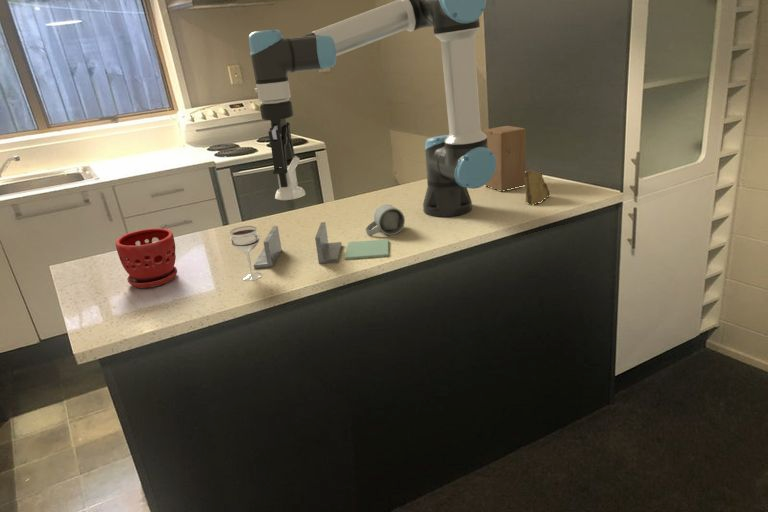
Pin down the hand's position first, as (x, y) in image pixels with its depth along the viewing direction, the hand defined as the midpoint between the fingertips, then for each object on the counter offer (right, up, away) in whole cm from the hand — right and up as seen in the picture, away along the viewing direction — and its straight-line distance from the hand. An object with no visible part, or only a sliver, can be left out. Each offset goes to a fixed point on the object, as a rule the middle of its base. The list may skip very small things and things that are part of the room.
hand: (290, 194), depth 135 cm
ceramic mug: (+24, -9, +19) cm, 32 cm away
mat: (+19, -14, +6) cm, 25 cm away
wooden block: (+66, +8, +52) cm, 84 cm away
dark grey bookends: (+1, -16, +6) cm, 17 cm away
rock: (+73, +2, +34) cm, 80 cm away
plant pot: (-34, -22, -1) cm, 40 cm away
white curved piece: (0, 0, 0) cm, 0 cm away
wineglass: (-9, -21, -3) cm, 23 cm away
